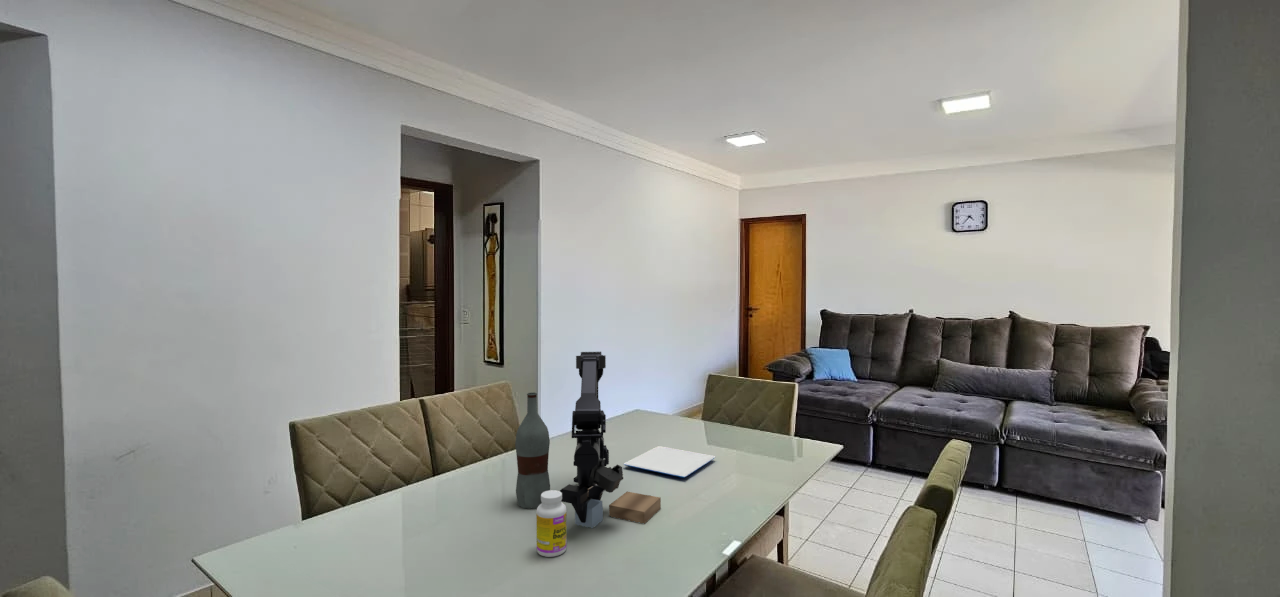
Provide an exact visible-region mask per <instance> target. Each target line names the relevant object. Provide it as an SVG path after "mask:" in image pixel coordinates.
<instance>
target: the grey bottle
mask: <svg viewBox="0 0 1280 597" xmlns="http://www.w3.org/2000/svg"><path fill="white" fill-rule="evenodd" d="M537 395H538V393H537V392H535V391H534V392H527V393H526V396H527V397H526V398H527V406H526V409H527V412H526V415H525V416H524V418H523V420H522V422H521V423H520V424H519V427H518V428H517V431H516V435H515V442H514V443H515V452H516V453H515V454H516V464H517V476H516V477H517V478H516V484H515V495H516V496H515V497H516V501H517V504H518V506H519V507H520V506H521V507H520V508H522V507H523V508H522V509H526V508H535V509H537V508H538V506H539V505H540V504H542V502H541V494H542V493H543V492H545V491H549V490H551V481H550V474H549V467H548V466H549V454H550V444H551V443H550V434H549V429H548V426H547V425H546V424H545V422H544V421H543V419H542V417H541V416H540V414H539V413H538V396H537Z"/></svg>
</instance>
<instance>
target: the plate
mask: <svg viewBox="0 0 1280 597" xmlns="http://www.w3.org/2000/svg"><path fill="white" fill-rule="evenodd" d="M715 458H716V456H715V455H712V454H705V453H700V452H695V451H689V450H683V449H678V448H673V447H667V446H661V445H657V446H656V447H654V448H651V449H649V450H648V451H645V452H643V453H642V454H640V455H637V456H635V457H633V458H632V459H630V460H627V461H626V462H624V463H623V466H626V467H632V468H635V469H641V470H645V471H650V472H656V473H660V474H663V475H670V476H674V477H679V478H686V477H688V476H689V475H691V474H692V473H694V472H696V471H698V470H699V469H701V468H702V467H703V466H705V465H706V464H708V463H709V462H711V461H712V460H714V459H715Z"/></svg>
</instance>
